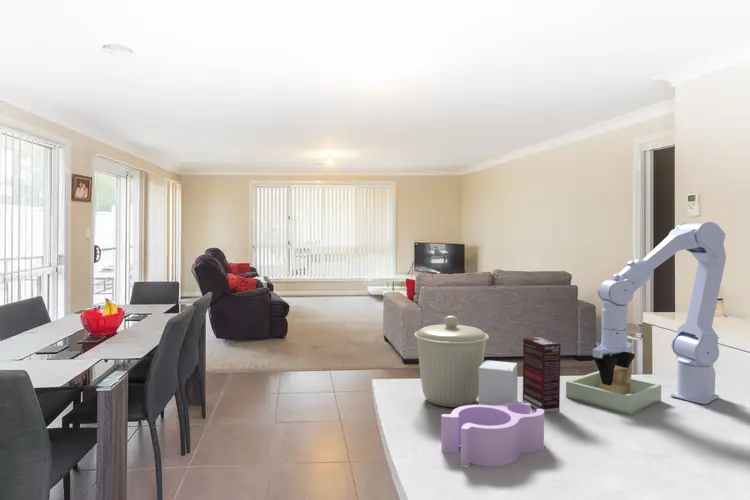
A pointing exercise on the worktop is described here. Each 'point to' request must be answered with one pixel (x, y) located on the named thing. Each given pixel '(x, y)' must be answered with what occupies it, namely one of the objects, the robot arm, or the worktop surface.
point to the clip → (492, 432)
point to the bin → (613, 394)
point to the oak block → (619, 381)
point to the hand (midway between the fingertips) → (613, 382)
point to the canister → (450, 362)
